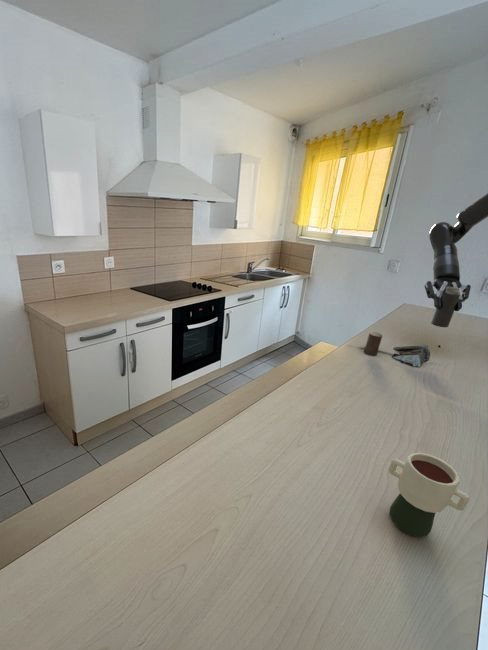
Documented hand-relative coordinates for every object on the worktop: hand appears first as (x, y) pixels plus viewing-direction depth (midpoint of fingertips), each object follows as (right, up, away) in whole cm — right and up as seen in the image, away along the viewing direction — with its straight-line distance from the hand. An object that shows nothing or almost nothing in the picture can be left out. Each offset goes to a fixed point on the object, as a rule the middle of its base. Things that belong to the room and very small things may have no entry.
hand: (448, 309), depth 114 cm
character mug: (-53, -43, -57) cm, 89 cm away
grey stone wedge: (-11, -19, +5) cm, 23 cm away
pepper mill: (0, -5, +4) cm, 7 cm away
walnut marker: (-22, -16, +10) cm, 29 cm away
